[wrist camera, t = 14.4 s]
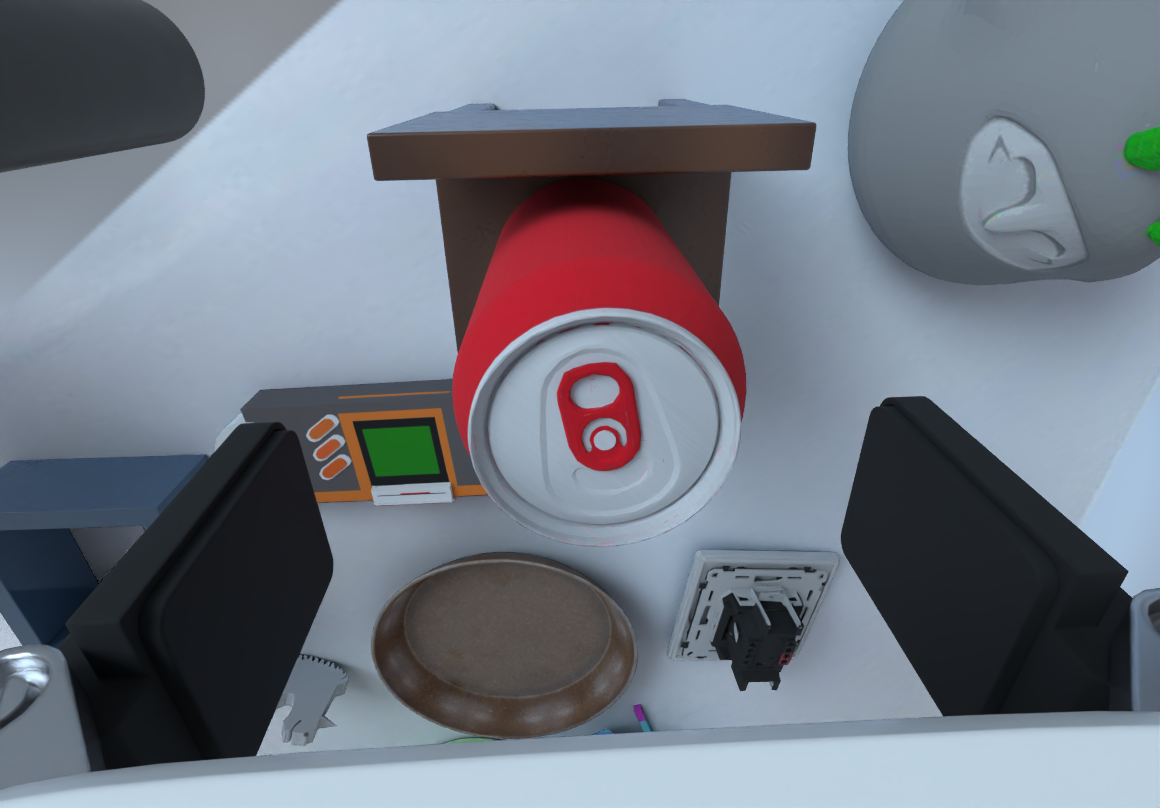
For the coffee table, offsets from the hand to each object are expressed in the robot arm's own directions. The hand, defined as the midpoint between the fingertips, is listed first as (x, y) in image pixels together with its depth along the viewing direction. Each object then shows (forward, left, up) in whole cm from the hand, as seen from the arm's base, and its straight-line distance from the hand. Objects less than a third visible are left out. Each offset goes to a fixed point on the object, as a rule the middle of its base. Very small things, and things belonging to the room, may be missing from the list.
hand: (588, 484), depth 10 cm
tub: (-28, -19, -22) cm, 40 cm away
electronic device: (-12, -12, -23) cm, 29 cm away
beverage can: (0, 0, -14) cm, 14 cm away
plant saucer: (-5, -28, -22) cm, 36 cm away
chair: (0, 0, -22) cm, 22 cm away
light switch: (+7, -26, -20) cm, 33 cm away
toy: (+19, +4, -22) cm, 29 cm away
